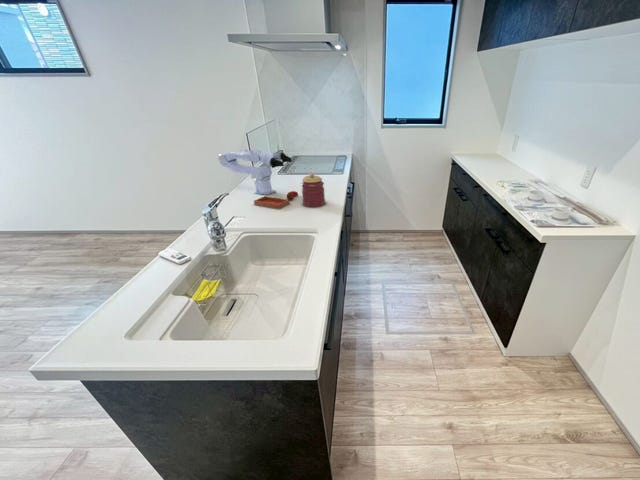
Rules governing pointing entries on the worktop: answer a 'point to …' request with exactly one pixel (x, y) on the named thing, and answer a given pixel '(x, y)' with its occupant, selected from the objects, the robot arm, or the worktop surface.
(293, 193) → the vegetable
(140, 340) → the worktop surface
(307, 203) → the kitchen canister
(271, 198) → the tray
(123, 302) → the worktop surface
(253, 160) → the robot arm
